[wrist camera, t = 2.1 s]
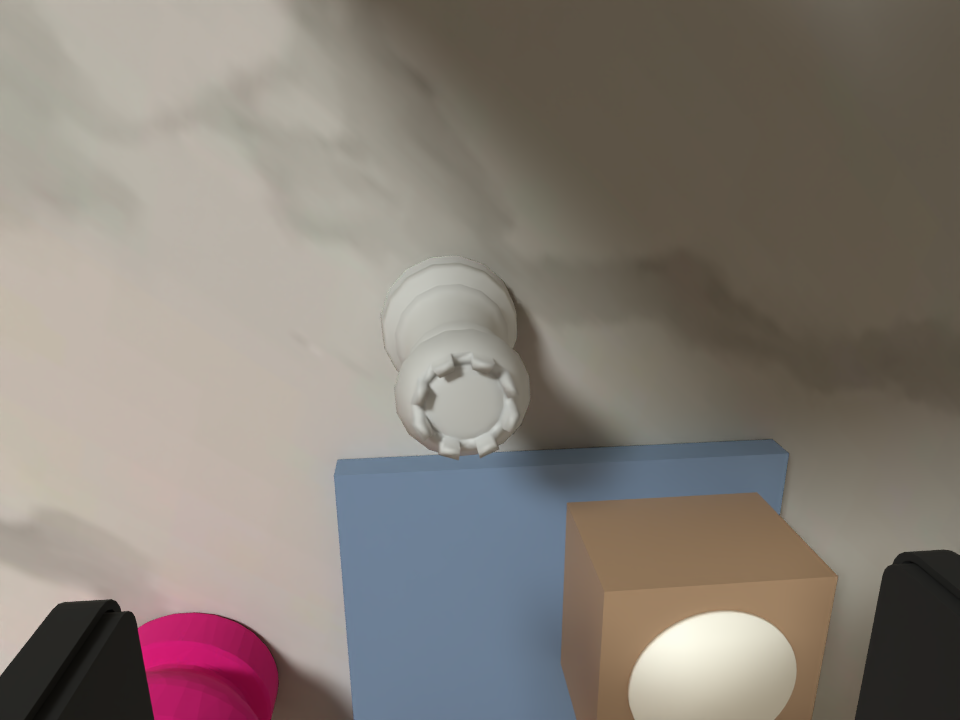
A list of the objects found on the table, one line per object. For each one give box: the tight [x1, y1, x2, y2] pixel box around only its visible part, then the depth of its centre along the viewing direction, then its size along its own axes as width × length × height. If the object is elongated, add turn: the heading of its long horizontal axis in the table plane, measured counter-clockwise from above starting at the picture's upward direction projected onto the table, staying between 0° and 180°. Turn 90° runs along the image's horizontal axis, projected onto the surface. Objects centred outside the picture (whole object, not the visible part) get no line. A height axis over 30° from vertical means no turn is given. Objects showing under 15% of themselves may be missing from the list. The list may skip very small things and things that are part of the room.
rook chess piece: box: [381, 255, 530, 460], centre depth 19 cm, size 4×4×8 cm
